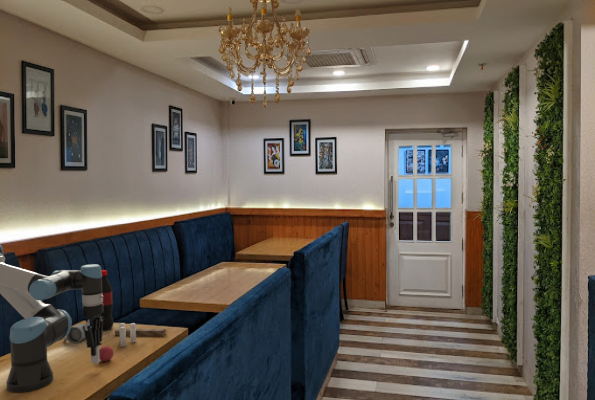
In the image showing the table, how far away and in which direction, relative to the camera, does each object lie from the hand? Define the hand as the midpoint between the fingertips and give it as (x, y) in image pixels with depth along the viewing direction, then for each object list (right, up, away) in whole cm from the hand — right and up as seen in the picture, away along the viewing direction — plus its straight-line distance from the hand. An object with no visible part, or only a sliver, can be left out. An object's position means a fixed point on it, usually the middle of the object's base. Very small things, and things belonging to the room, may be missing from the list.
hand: (95, 362), depth 185 cm
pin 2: (+4, -1, +31) cm, 32 cm away
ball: (0, 0, +9) cm, 10 cm away
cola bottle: (-17, -1, +51) cm, 54 cm away
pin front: (+1, -2, +27) cm, 27 cm away
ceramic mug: (-24, -2, +35) cm, 42 cm away
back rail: (+4, -1, +41) cm, 42 cm away
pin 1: (-1, -2, +32) cm, 32 cm away
